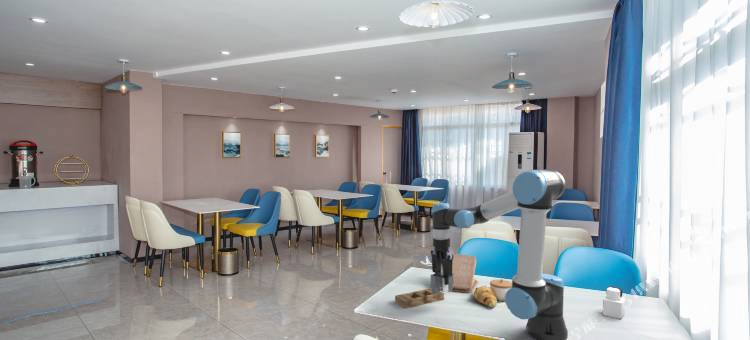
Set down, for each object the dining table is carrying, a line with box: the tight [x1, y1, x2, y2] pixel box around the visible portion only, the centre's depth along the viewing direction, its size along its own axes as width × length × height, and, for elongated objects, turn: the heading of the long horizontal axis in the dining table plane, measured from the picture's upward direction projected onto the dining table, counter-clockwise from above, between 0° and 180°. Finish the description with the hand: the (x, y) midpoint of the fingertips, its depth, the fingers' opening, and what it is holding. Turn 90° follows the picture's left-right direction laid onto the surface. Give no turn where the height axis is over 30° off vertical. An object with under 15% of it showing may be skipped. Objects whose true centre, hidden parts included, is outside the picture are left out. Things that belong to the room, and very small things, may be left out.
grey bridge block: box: [430, 273, 454, 294], centre depth 194 cm, size 10×4×8 cm, turn 120°
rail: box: [394, 287, 445, 309], centre depth 208 cm, size 22×9×3 cm, turn 120°
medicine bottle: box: [602, 285, 626, 320], centre depth 189 cm, size 7×7×12 cm
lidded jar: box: [489, 278, 512, 302], centre depth 210 cm, size 11×11×9 cm
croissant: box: [473, 285, 498, 308], centre depth 206 cm, size 21×10×8 cm, turn 8°
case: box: [440, 253, 479, 294], centre depth 230 cm, size 20×21×16 cm
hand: (442, 290), depth 194 cm, fingers closed on grey bridge block, 3 cm apart
